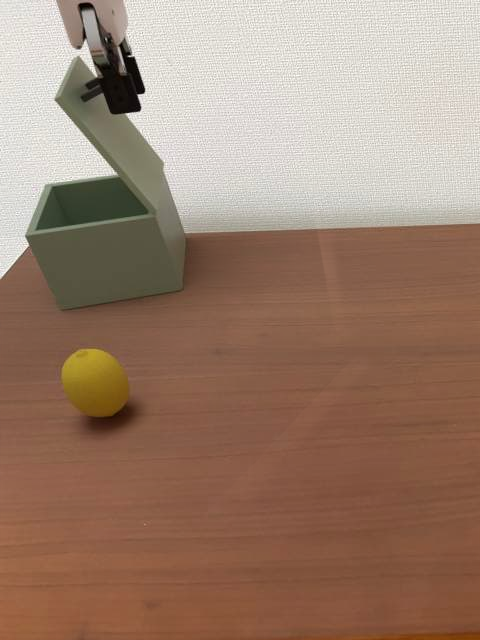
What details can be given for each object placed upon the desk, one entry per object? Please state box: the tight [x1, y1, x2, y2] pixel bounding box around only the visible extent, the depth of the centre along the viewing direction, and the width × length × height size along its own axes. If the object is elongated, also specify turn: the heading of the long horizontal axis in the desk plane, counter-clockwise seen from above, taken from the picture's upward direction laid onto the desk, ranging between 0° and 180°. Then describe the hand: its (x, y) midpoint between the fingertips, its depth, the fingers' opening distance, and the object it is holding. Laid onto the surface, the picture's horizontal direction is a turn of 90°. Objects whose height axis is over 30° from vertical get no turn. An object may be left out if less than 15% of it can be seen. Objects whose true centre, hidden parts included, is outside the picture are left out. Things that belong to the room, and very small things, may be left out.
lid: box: [53, 55, 165, 214], centre depth 93 cm, size 15×14×5 cm
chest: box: [24, 169, 187, 311], centre depth 100 cm, size 14×14×10 cm
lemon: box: [60, 348, 131, 418], centre depth 80 cm, size 6×6×8 cm
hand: (128, 101), depth 92 cm, fingers closed on lid, 5 cm apart
